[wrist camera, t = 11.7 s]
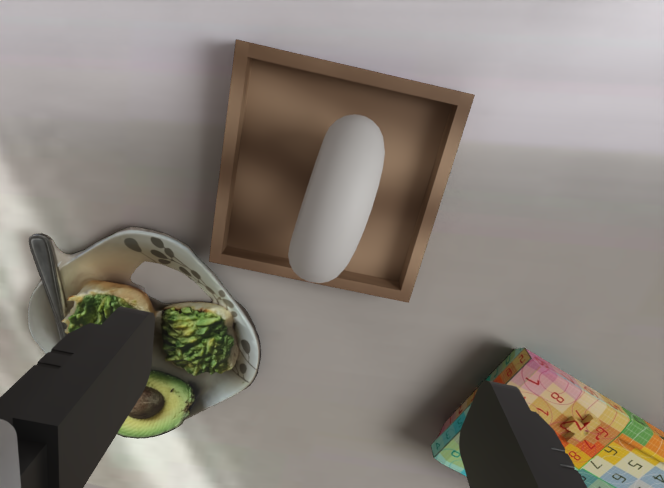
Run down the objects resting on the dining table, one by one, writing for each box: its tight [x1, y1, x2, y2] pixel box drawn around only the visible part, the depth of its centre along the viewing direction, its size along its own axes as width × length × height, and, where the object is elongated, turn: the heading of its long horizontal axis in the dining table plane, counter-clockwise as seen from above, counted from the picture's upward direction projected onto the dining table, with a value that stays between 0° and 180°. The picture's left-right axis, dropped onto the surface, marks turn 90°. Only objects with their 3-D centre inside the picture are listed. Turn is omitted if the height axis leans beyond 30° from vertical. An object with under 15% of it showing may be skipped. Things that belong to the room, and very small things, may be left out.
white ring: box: [288, 114, 385, 283], centre depth 26 cm, size 10×3×10 cm, turn 161°
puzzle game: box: [431, 348, 664, 488], centre depth 37 cm, size 12×5×20 cm
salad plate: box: [28, 227, 261, 439], centre depth 34 cm, size 19×18×5 cm
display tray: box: [209, 40, 475, 303], centre depth 30 cm, size 15×15×2 cm
